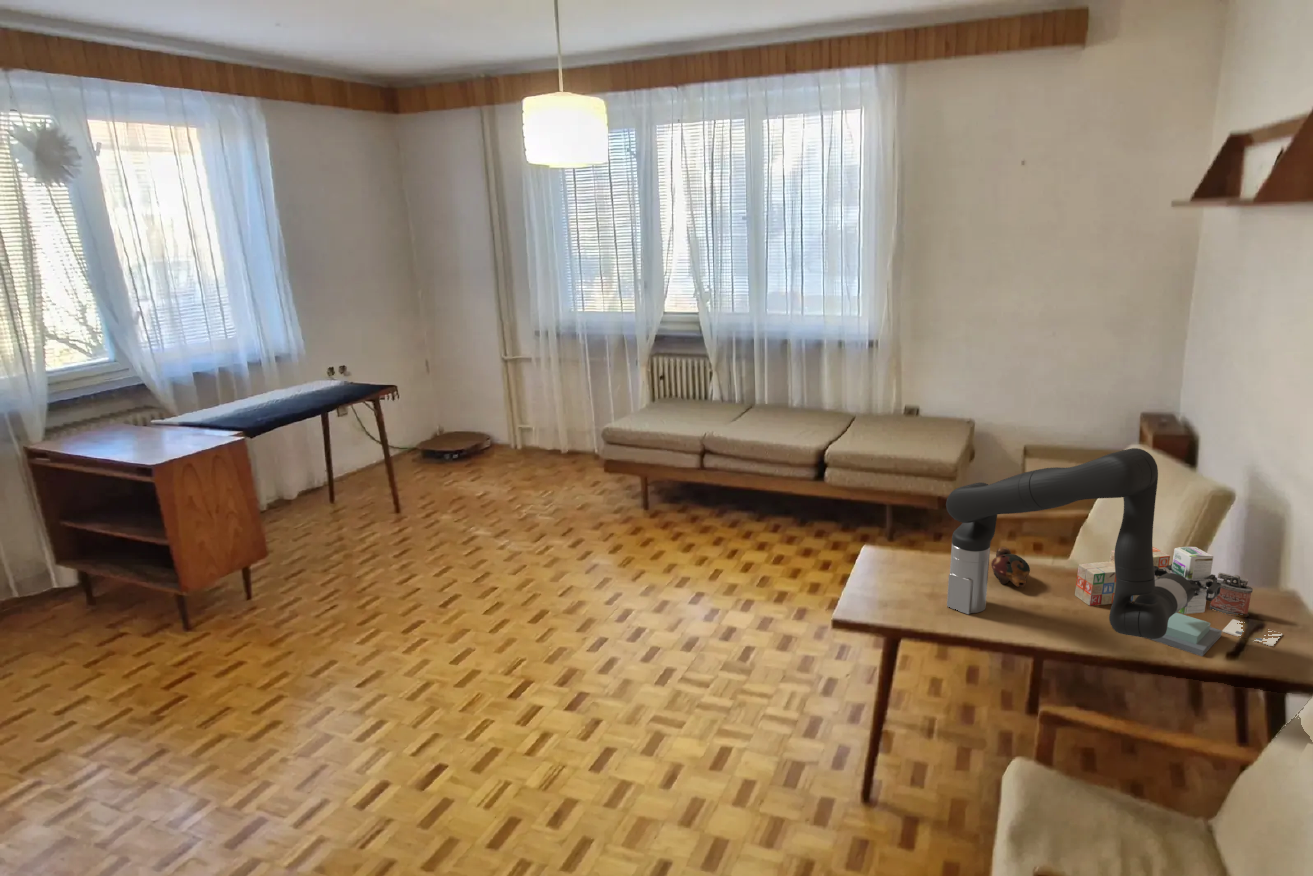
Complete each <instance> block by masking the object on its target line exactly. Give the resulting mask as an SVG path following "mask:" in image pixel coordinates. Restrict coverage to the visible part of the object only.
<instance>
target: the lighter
mask: <svg viewBox="0 0 1313 876" xmlns="http://www.w3.org/2000/svg"><path fill="white" fill-rule="evenodd" d="M1217 582H1219V583H1221V589H1220V594H1219V595H1218V596H1217V597H1216V598H1214V599H1213V600H1212V601H1210V603H1209V607H1210V608H1209V610H1211V609H1214V610H1216V611H1219V612H1222V613H1221V614H1223V613H1226V614H1225V615H1227V614H1234V615H1235V614H1236V615H1238V614H1240V615H1243V614H1248V615H1249V608H1250V602H1251V596H1252V594H1253V590H1254V588H1253V587H1251V586H1249V585H1248V584H1249V583H1248V582H1249V579H1248V578H1243V577H1240V575H1238V574H1234V575H1231V574H1228V573H1224V572H1219V573H1218V574H1217ZM1216 611H1215V612H1216ZM1219 612H1218V613H1219Z"/></svg>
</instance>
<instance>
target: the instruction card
mask: <svg viewBox="0 0 1313 876" xmlns="http://www.w3.org/2000/svg"><path fill="white" fill-rule="evenodd" d="M1243 622H1244V621H1241V622H1240V620H1238V619H1235V618H1232V619H1231V620H1230V622H1229V623H1228V624H1227V625H1226V626H1225V627H1223V629H1222V633H1224V634H1225V633H1226V634H1228V635H1232V636H1235V637H1238V636H1241V635H1242V632H1244V631H1243V629H1241V627H1243V625H1241V624H1239V623H1243ZM1237 623H1238V624H1237ZM1272 631H1274V632H1276V631H1275V630H1272ZM1272 631H1268V632H1272ZM1280 633H1281V632H1280ZM1264 636H1266V635H1264ZM1268 636H1281V637H1282V636H1283V633H1281V634H1272V635H1269V634H1268ZM1281 637H1278V638H1273V637H1272V638H1268V639H1265V638H1263V639H1262V638H1255V639H1256V640H1254V641H1259V642H1262V641H1267V642H1263V644H1262V645H1264V644H1266V645H1265V646H1267V645H1268V646H1267V647H1270V646H1273V647H1274V646H1275V645H1276V644H1277V642H1278V641H1279V640H1280V638H1281ZM1278 639H1279V640H1278ZM1254 641H1253V642H1254ZM1276 641H1277V642H1276ZM1274 644H1275V645H1274Z"/></svg>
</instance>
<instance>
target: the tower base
mask: <svg viewBox="0 0 1313 876" xmlns="http://www.w3.org/2000/svg"><path fill="white" fill-rule="evenodd" d="M1222 630H1223V629H1222ZM1222 630H1221V629H1219V628H1215V627H1212V626H1211V622H1209V621H1206V620H1203V619H1199V618H1195V617H1193V616H1189V615H1187V614H1181V613H1180V612H1177V613H1175V614H1173V615H1172V616H1171V617H1170V618H1169V620H1168V627H1167V631H1166V634H1165V635H1164V636H1163V637H1161V638H1158V639H1150V641H1155V642H1157V643H1161V644H1164V645H1166V646H1168V647H1173V648H1175V649H1179V650H1180V651H1184V652H1188V653H1191V654H1193V655H1197V656H1200V657H1203V656H1205V654H1206V653H1207V652H1208V651H1209V650H1210V649H1211V648H1212V647H1213V646H1214V644H1215V643H1216V642H1218V640H1219V639H1220V638H1221V637H1222V634H1223V632H1222Z"/></svg>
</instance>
